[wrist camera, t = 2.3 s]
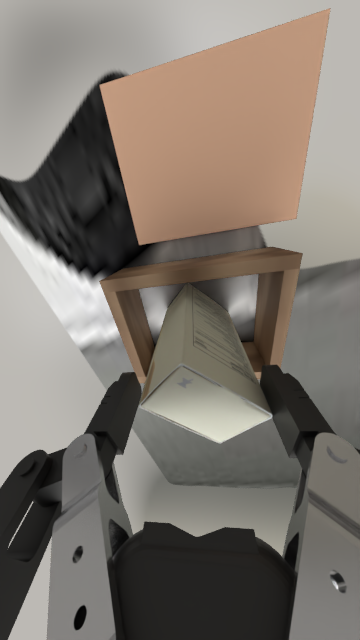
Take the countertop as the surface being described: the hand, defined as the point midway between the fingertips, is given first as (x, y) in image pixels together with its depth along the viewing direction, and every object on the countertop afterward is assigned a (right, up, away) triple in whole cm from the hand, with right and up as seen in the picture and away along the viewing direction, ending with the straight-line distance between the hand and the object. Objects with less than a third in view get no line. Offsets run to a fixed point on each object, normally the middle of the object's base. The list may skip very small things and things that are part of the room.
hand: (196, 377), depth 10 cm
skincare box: (+1, +5, +9) cm, 10 cm away
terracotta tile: (+1, +16, +2) cm, 16 cm away
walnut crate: (+1, +5, +9) cm, 10 cm away
